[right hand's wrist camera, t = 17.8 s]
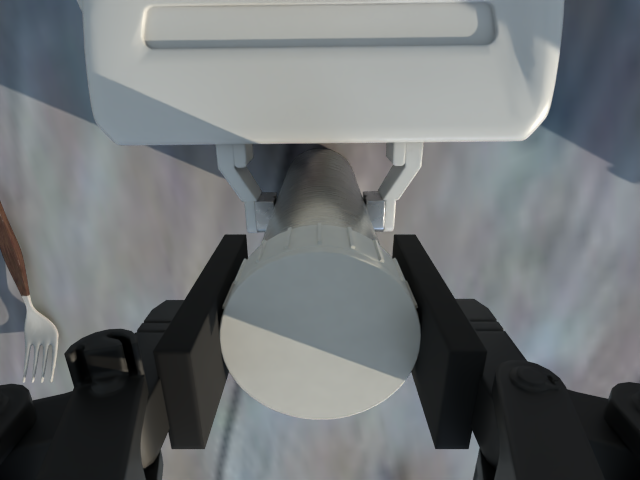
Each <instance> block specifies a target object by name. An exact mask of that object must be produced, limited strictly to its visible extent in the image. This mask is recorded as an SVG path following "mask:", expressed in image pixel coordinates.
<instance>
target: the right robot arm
mask: <svg viewBox="0 0 640 480" xmlns="http://www.w3.org/2000/svg"><path fill="white" fill-rule="evenodd" d="M393 258H396V260H397V262H398V264H399V266H400V269H401V271H402V273H403V276H404V278H405V280H406V281H407V282H408V284H409V287H410V289H411V291H412V294H413V296H414V298H415V301H416V303H417V305H418V308H416V310H417V313H418V316H419V321H420V326H421V339H420V348H419V353H418V357H417V360H416V362H415V365H414V367H413V369H412V371H411V372H412V375H413V379H414V382H415V385H416V388H417V391H418V395H419V398H420V401H421V404H422V407H423V411H424V414H425V417H426V420H427V423H428V427H429V430H430V433H431V436H432V439H433V443H434V446H435V449H469V444H470V439H471V434H472V431H473V433H474V435H475V438H476V440H477V442H478V444H479V447H480V449H479V453H478V458H477V463H476V468H475V473H474V477H473V480H640V384H639V383H632V382H626V383H619V384H617V385H616V386H615V387H613V388H612V390H611V393H610V396H609V399H606V398H601V397H597V396H592V395H588V394H583V393H579V392H575V391H571V390H568V389H567V388H566V386H565V385H564V384H563V382H562V381H561V379H560V378H559V377H558V376H556V375H555V374H554V373H553V372H551V371H550V370H548V369H546V368H544V367H542V366H540V365H538V364H535V363H532V362H528V361H527V360H526V359H525V358H524V356H523V355H522V353H521V352H520V351H519V349H518V348H517V347H516V345H515V344H514V343H513V341H512V340H511V339H510V337H509V336H508V335H507V333H506V332H505V331H503V328H502V326H501V325H500V324H499V322H497V321H496V318H495V317H494V316H493V314H492V313H491V311H490V310H489V309H488V308H487V307H485V306H484V305H482V304H481V303H479V302H478V301H476V300H475V299H455V298H454V296H453V295H452V293H451V292H450V290H449V288H448V287H447V285H446V284H445V282H444V280H443V279H442V277H441V275H440V274H439V272H438V271H437V269H436V267H435V266H434V264H433V263H432V261H431V259H430V258H429V256H428V254H427V253H426V251H425V250H424V248H423V246H422V245H421V243H420V241H419V240H418V238H417V237H416V235H394V243H393V256H392V259H393ZM244 259H248V253H247V239H246V235H224V237H223V239H222V240H221V242H220V244H219V245H218V247H217V248H216V250H215V252H214V253H213V255H212V256H211V258H210V260H209V261H208V263H207V265H206V266H205V268H204V269H203V271H202V273H201V274H200V276H199V277H198V279H197V281H196V282H195V284H194V286H193V287H192V289H191V290H190V292H189V294H188V295H187V297H186V299H185V300H166V301H164V302H163V303H161V304H160V305H159V306H157V307H156V308H154V309H153V310H152V311H151V312H150V313H149V315H148V316H147V318H146V319H145V320H144V323H142V324H141V326H140V327H139V328H138V330H137V333H135V334H134V333H133V332H132V331H129V330H124V329H108V330H104V331H100V332H95V333H93V334H91V335H88V336H86V337H84V338H82V339H80V340H79V341H77V342H76V343H74V344H73V345H71V346H70V348H69V349H68V350H67V351H66V352H65V358H66V361H67V364H68V368H69V371H70V375H71V378H72V381H73V385H74V389H73V391H72V392H68V393H65V394H60V395H56V396H51V397H47V398H42V399H37V400H33V401H32V398H31V395H30V392H29V390H28V389H27V388H25V387H24V386H23V385H17V384H7V385H0V480H162V473H163V459H162V453H161V447H162V445H163V442H164V440H165V438H166V436H167V433H168V432H169V437H170V443H171V448H172V449H205V447H206V443H207V440H208V437H209V434H210V431H211V427H212V424H213V421H214V418H215V415H216V411H217V408H218V405H219V402H220V399H221V395H222V392H223V389H224V386H225V383H226V379H227V376H228V373H229V371H228V369H227V366H226V364H225V362H224V359H223V356H222V353H221V345H220V336H219V328H220V322H221V317H222V314H223V311H224V309H222V306H223V304H224V301H225V299H226V297H227V295H228V292H229V290H230V288H231V285H232V283H233V281H234V280H235V278H236V276H237V274H238V271H239V269H240V267H241V264H242V262H243V260H244Z"/></svg>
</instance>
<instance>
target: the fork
mask: <svg viewBox="0 0 640 480" xmlns="http://www.w3.org/2000/svg"><path fill="white" fill-rule="evenodd" d="M0 249H1V252H2V255H3V258H4V260H5V262H6V265H7V267H8V269H9V271H10V273H11V275H12V277H13V279H14V281H15V283H16V285H17V287H18V290H19V292H20V294H21V296H22V298H23V300H24V303H25V305H26V309H27V313H26V319H25V325H24V335H25V364H24V375H23V383H24V382H25V378H26V373H27V368H28V362H29V355H30V348H31V345H34V365H33V377H32V382H34V379H35V374H36V368H37V362H38V355H39V349H40V345H43V367H42V378H41V382H43V379H44V374H45V369H46V362H47V356H48V349H49V346H50V345H52V368H51V379H50V382H52V381H53V375H54V369H55V363H56V356H57V348H58V330H57V328H56V326H55V325H54V324H53V323H52V322H51V321H50V320H49V319H48V318H46V317H45V316H44V315H42V314H41V313H39V312H38V311H37V310H36V309H35V308H34V307H33V305H32V302H31V298H30V293H29V287H28V281H27V275H26V270H25V265H24V260H23V256H22V252H21V249H20V247H19V244H18V242H17V239H16V237H15V235H14V233H13V230H12V228H11V226H10V224H9V221H8V219H7V217H6V214H5V212H4V209H3V207H2V204H1V202H0Z"/></svg>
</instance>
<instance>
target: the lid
mask: <svg viewBox="0 0 640 480" xmlns="http://www.w3.org/2000/svg"><path fill="white" fill-rule="evenodd" d="M416 308H418V305H417V303H416V301H415V298H414V296H413V294H412V291H411V289H410V287H409V284H408V282H407V281H406V280H405V278H404V276H403V273H402V271H401V269H400V266H399V264H398V262H397V260H396V258H393V259H392V258H391V256H390V255H389V254H388V253H387V252H386V251H385V250H384V249H383V248H382V247H381V246H380V245H379V244H378V241H377V240H376V239H374V240H372V239H370V238H368V237H366V236H364V235H362V234H361V233H358V232H355V231H353V230H352V229H351V227H347V228H342V227H338V226H331V225H322V223H318V225H309V226H302V227H297V228H294V229H292V227H289V228H288V230H287V231H285V232H282V233H280V234H277V235H276V236H274V237H272V238H270V239H269V240H267V241H266V240H265V239H264V240H263V241H262V243H261V245H260V246H259V247H258V248H257V249H256V250H255V251H254V252H253V253H252V254H251V255H250V256H249V258H248V259H244V260H243V262H242V264H241V267H240V269H239V271H238V274H237V276H236V278H235V280H234V281H233V283H232V285H231V288H230V290H229V292H228V295H227V297H226V299H225V301H224V304H223V306H222V309H224V311H223V314H222V317H221V322H220V328H219V336H220V345H221V353H222V356H223V359H224V362H225V364H226V366H227V369H228V371H229V372H230V374H231V375H232V377H233V378H234V380H235V381H236V382H237V384H238V385H239V386H240V387H241V388H242V389H243V390H244V391H245V392H246V393H247V394H248V395H250V396H251V397H252V398H254V399H255V400H256V401H258V402H259V403H261V404H263V405H265V406H266V407H268V408H270V409H272V410H275V411H277V412H280V413H283V414H286V415H289V416H293V417H298V418H304V419H315V420H319V419H336V418H342V417H347V416H351V415H354V414H357V413H361V412H363V411H366V410H368V409H370V408H372V407H374V406H376V405H378V404H379V403H381V402H383V401H384V400H385V399H387V398H388V397H389V396H391V395H392V394H393V393H394V392H395V391H396V390H397V389H398V388H399V387H400V386H401V385H402V384H403V383H404V381H405V380H406V379H407V378H408V376H409V374H410V373H411V371H412V369H413V367H414V365H415V362H416V360H417V357H418V353H419V348H420V339H421V326H420V321H419V316H418V313H417V310H416Z"/></svg>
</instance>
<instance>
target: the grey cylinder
mask: <svg viewBox="0 0 640 480" xmlns="http://www.w3.org/2000/svg"><path fill="white" fill-rule="evenodd" d="M318 223H322V225H331V226H338V227H342V228H347V227H351V229H352V230H353V231H355V232H358V233H361V234H362V235H364V236H366V237H368V238H370V239H372V240H374V239H376V240H377V241H378V239H377V236H376V233H375V230H374V228H373V225H372V222H371V219H370V217H369V214H368V211H367V208H366V206H365V203H364V200H363V197H362V195H361V192H360V189H359V186H358V184H357V181H356V178H355V175H354V173H353V170H352V168H351V166H350V164H349V163H348V161H347V160H346V159H345V158H344V157H343V156H341V155H340V154H338V153H337V152H335V151H332V150H329V149H323V148H317V149H311V150H308V151H306V152H304V153H302V154H300V155H299V156H298V157H297V158H295V160H294V161H293V162H292V163H291V165H290V167H289V169H288V171H287V174H286V176H285V179H284V182H283V185H282V187H281V190H280V193H279V196H278V198H277V201H276V204H275V207H274V209H273V212H272V215H271V218H270V220H269V223H268V226H267V229H266V231H265V234H264V237H263V240H264V239H265V240H266V241H267V240H269V239H270V238H272V237H274V236H276V235H277V234H280V233H282V232H285V231H287V230H288V228H289V227H292V229H294V228H297V227H302V226H309V225H318ZM263 240H262V241H263ZM261 243H262V242H261ZM378 244H379V241H378ZM379 245H380V244H379Z"/></svg>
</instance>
